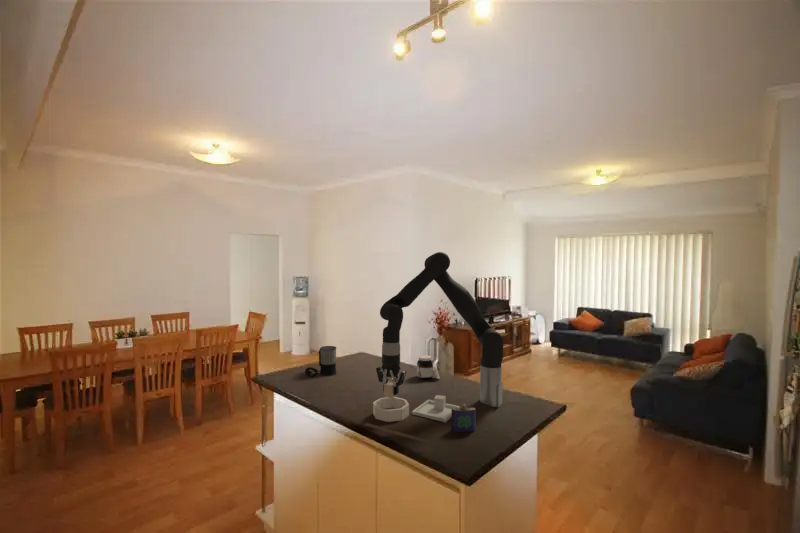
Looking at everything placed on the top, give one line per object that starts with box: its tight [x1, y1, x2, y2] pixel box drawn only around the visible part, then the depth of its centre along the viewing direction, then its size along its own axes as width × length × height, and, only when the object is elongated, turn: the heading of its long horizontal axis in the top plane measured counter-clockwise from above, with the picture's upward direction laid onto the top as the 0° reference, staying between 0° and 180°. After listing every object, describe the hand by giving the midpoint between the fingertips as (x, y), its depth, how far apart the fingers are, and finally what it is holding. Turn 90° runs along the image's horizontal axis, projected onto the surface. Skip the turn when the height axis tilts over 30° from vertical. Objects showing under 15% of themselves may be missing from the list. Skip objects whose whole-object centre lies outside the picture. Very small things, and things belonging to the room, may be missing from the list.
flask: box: [451, 403, 477, 433], centre depth 139 cm, size 9×3×11 cm, turn 95°
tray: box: [411, 399, 461, 423], centre depth 156 cm, size 15×15×2 cm
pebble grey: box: [433, 394, 447, 411], centre depth 159 cm, size 4×4×5 cm
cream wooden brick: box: [383, 381, 398, 398], centre depth 154 cm, size 4×4×5 cm
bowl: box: [372, 396, 410, 423], centre depth 154 cm, size 14×14×5 cm
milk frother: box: [304, 345, 337, 377], centre depth 210 cm, size 14×16×15 cm
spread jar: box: [416, 354, 440, 381], centre depth 204 cm, size 12×11×12 cm
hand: (390, 393), depth 154 cm, fingers closed on cream wooden brick, 4 cm apart
